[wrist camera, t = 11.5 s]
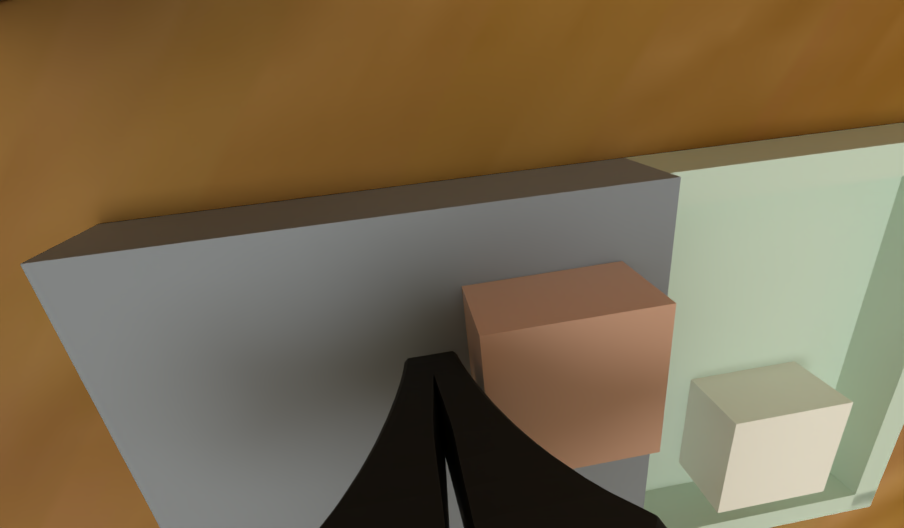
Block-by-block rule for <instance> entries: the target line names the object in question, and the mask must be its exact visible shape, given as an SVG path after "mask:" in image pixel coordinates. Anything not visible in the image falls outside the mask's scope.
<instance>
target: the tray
mask: <svg viewBox="0 0 904 528" xmlns="http://www.w3.org/2000/svg"><path fill="white" fill-rule="evenodd" d="M626 159H629V160H632V161H635V162H638V163H641V164H644V165H647V166H650V167H653V168H656V169H659V170H662V171H665V172H668V173H671V174H674V175H677V176H680V177H681V181H680V190H679V199H678V208H677V216H676V225H675V234H674V243H673V252H672V261H671V270H670V279H669V287H668V297H669V298H670V299H672V300H673V301H674V302H675V303H676V311H675V320H674V329H673V338H672V347H671V356H670V365H669V374H668V383H667V392H666V401H665V410H664V419H663V428H662V436H661V445H660V452H657V453H652V454H650V456H649V465H648V474H647V483H646V491H645V500H644V509H645V510H647V511H649V512H651V513H653V514H655V515H657V516H658V517H659V518H660V520H661V521H662V522H663V523H664V524H665V526H666V527H667V528H770V527H775V526H780V525H784V524H789V523H794V522H799V521H803V520H808V519H813V518H818V517H822V516H827V515H832V514H837V513H841V512H846V511H851V510H855V509H860V508H865V507H870V505H871V503H872V500H873V498H874V495H875V493H876V490H877V488H878V485H879V483H880V480H881V478H882V476H883V473H884V471H885V468H886V466H887V463H888V461H889V458H890V456H891V453H892V451H893V449H894V446H895V444H896V441H897V439H898V436H899V434H900V431H901V429H902V426H903V424H904V123H896V124H888V125H880V126H872V127H864V128H856V129H848V130H840V131H832V132H824V133H816V134H809V135H801V136H793V137H785V138H777V139H769V140H761V141H753V142H745V143H737V144H729V145H721V146H713V147H706V148H698V149H690V150H682V151H674V152H666V153H658V154H650V155H642V156H634V157H626ZM793 361H795V362H796V363H798V364H799V365H801V366H802V367H803V368H805V369H806V370H808V371H809V372H811V373H812V374H813V375H815V376H816V377H818V378H819V379H821V380H822V381H824V382H825V383H826V384H828V385H829V386H831V387H832V388H834V389H835V390H837V391H838V392H839V393H841V394H842V395H844V396H845V397H847V398H848V399H850V400H851V401H852V402H853V405H852V408H851V411H850V414H849V417H848V420H847V423H846V426H845V429H844V432H843V435H842V438H841V441H840V444H839V446H838V449H837V452H836V455H835V458H834V461H833V464H832V467H831V470H830V473H829V476H828V479H827V482H826V485H825V488H824V491H822V492H818V493H813V494H808V495H803V496H798V497H793V498H789V499H784V500H779V501H774V502H769V503H764V504H760V505H755V506H750V507H745V508H740V509H735V510H731V511H726V512H721V513H717V511H716V510H715V509H714V508H713V506H712V505H711V504H710V502H709V501H708V500H707V498H706V497H705V496H704V494H703V493H702V492H701V491H700V489H699V488H698V487H697V485H696V484H695V483H694V481H693V480H692V479H691V477H690V476H689V475H688V473H687V472H686V471H685V470H684V468H683V467H682V466H681V464H680V463H679V458H680V451H681V444H682V437H683V430H684V423H685V417H686V410H687V403H688V396H689V389H690V383H691V379H697V378H702V377H708V376H714V375H719V374H725V373H731V372H736V371H742V370H748V369H753V368H759V367H764V366H770V365H776V364H781V363H787V362H793Z"/></svg>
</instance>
